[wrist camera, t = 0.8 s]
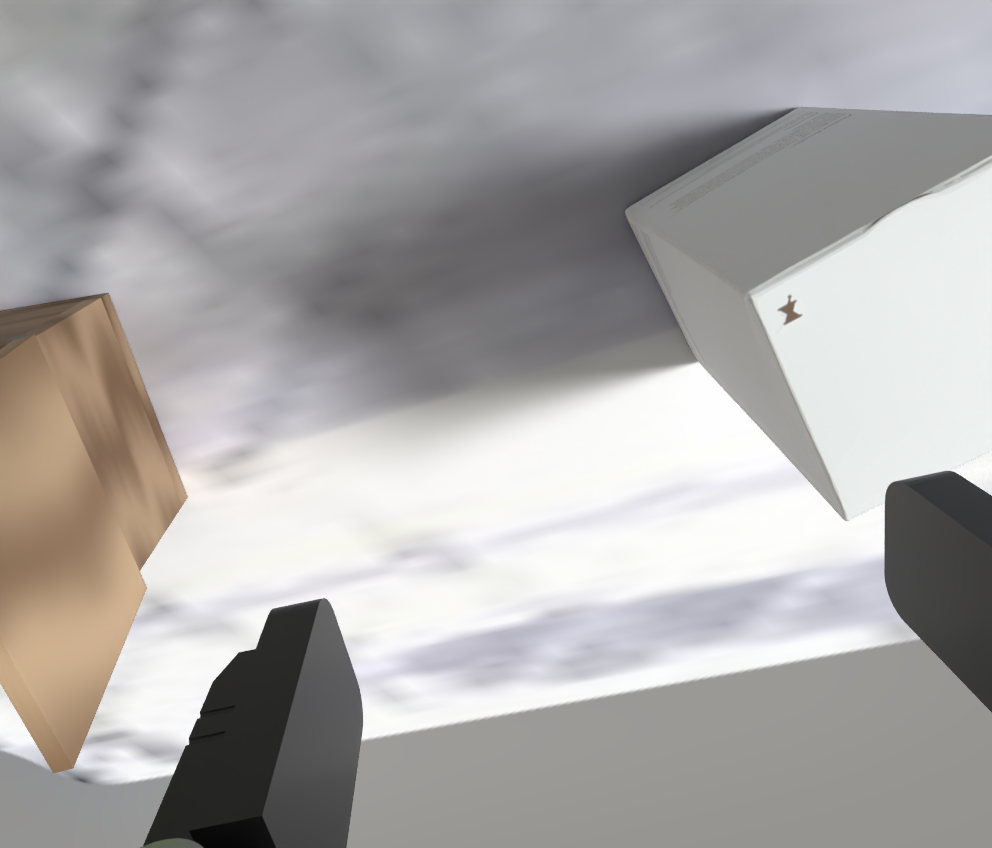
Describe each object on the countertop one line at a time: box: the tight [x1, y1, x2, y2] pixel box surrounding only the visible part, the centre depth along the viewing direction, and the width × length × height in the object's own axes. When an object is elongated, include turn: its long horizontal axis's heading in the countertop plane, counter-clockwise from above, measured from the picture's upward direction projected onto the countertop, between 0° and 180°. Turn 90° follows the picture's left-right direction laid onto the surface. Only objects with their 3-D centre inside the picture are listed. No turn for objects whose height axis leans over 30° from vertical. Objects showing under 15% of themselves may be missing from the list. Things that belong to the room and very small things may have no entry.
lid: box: [0, 334, 147, 773], centre depth 25 cm, size 12×10×1 cm
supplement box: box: [625, 107, 992, 521], centre depth 27 cm, size 9×9×15 cm
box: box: [0, 293, 188, 571], centre depth 32 cm, size 11×9×7 cm
